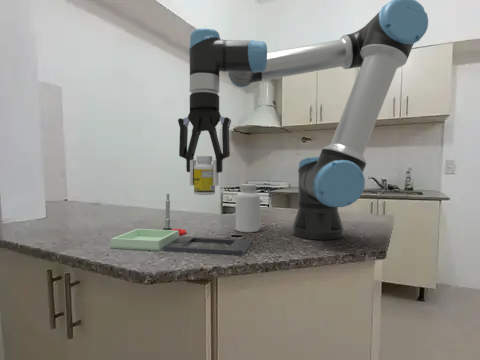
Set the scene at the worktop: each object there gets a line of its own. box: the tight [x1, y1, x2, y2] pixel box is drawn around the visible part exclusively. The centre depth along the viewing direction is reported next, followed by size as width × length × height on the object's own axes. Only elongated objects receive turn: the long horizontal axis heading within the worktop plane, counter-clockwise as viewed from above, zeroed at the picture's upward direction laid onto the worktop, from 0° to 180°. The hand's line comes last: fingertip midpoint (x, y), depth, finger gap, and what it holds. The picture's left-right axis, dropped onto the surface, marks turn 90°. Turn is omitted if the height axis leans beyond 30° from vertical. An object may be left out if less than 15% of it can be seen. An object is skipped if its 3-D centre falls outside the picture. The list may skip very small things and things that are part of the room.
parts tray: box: [110, 228, 180, 252], centre depth 86 cm, size 13×13×2 cm
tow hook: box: [162, 193, 187, 236], centre depth 99 cm, size 8×13×9 cm
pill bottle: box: [235, 183, 261, 233], centre depth 104 cm, size 8×8×15 cm
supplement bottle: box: [193, 155, 216, 196], centre depth 82 cm, size 5×5×10 cm
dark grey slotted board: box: [162, 235, 252, 256], centre depth 83 cm, size 20×12×1 cm, turn 78°
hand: (204, 185), depth 82 cm, fingers closed on supplement bottle, 5 cm apart
